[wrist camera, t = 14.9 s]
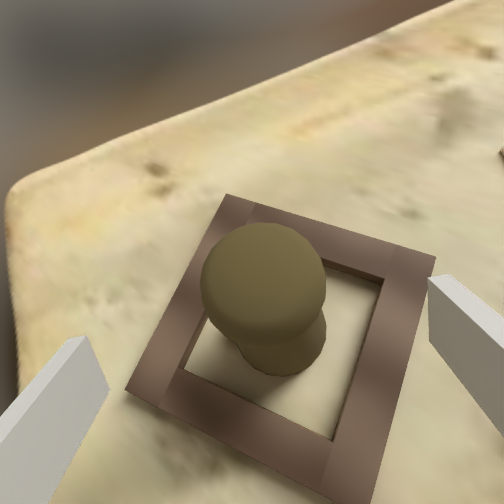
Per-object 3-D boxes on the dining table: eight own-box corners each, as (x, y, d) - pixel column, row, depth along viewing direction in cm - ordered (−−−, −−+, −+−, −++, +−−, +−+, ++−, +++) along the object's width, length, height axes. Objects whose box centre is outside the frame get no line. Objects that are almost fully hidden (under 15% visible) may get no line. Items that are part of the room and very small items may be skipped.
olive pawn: (234, 287, 24) (182, 207, 14) (321, 280, 24) (329, 191, 14) (235, 378, 22) (173, 357, 12) (332, 374, 21) (352, 348, 11)
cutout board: (229, 201, 27) (226, 193, 26) (430, 263, 23) (436, 256, 22) (133, 390, 23) (124, 389, 22) (362, 511, 18) (366, 518, 17)
